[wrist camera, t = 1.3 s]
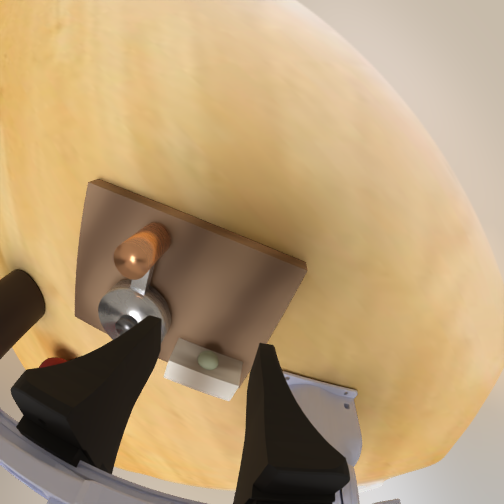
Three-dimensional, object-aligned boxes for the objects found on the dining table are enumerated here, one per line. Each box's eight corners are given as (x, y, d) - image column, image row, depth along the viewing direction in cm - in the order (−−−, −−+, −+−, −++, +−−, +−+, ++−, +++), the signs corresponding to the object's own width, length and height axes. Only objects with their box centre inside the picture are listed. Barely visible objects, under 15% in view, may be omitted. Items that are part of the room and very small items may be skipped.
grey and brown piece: (163, 348, 24) (148, 380, 20) (106, 320, 23) (84, 348, 20) (197, 239, 20) (179, 264, 16) (124, 209, 19) (93, 226, 15)
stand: (305, 262, 22) (311, 291, 17) (240, 377, 27) (235, 411, 23) (98, 179, 20) (65, 189, 16) (82, 308, 26) (59, 332, 21)
